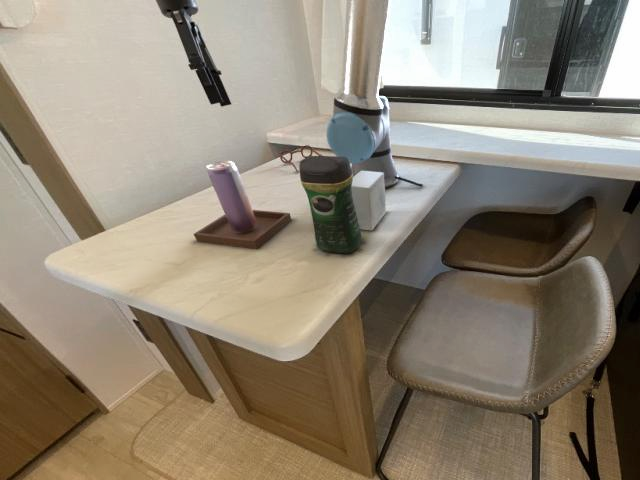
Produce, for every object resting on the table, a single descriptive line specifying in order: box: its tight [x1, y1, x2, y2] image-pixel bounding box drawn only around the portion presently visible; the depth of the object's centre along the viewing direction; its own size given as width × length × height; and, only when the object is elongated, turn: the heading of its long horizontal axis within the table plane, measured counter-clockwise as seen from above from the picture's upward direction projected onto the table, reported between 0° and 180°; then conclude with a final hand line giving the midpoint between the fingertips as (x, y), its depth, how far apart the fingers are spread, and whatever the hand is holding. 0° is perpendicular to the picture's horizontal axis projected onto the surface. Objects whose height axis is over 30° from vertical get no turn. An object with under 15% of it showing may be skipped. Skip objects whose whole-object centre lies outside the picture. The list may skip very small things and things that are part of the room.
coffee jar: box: [298, 155, 363, 254], centre depth 63 cm, size 10×8×19 cm
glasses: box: [279, 144, 324, 173], centre depth 116 cm, size 13×13×5 cm
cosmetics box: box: [352, 171, 387, 231], centre depth 75 cm, size 10×6×10 cm, turn 163°
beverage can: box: [205, 160, 257, 234], centre depth 72 cm, size 6×6×15 cm
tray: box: [193, 209, 292, 250], centre depth 76 cm, size 17×15×2 cm
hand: (222, 104), depth 78 cm, fingers open, 13 cm apart
